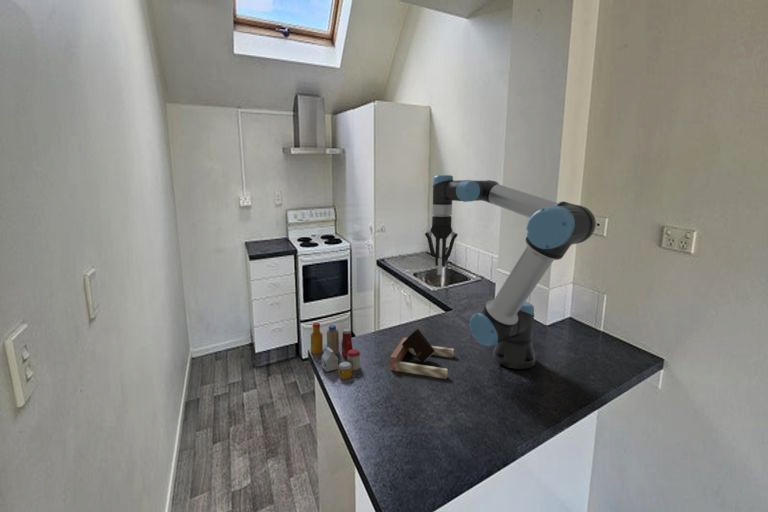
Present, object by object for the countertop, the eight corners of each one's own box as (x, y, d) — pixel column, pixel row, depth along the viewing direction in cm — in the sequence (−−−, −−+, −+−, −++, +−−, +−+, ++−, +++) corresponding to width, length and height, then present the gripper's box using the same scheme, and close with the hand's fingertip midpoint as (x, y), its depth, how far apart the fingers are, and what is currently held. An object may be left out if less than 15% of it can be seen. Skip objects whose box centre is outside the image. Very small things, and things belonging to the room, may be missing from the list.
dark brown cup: (438, 347, 133) (418, 327, 136) (420, 364, 132) (401, 343, 135) (436, 350, 144) (418, 331, 147) (420, 366, 143) (402, 347, 146)
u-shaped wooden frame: (453, 355, 143) (454, 343, 142) (446, 378, 126) (447, 365, 125) (403, 348, 149) (403, 337, 148) (390, 369, 132) (390, 356, 131)
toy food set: (308, 352, 147) (307, 323, 144) (338, 345, 153) (337, 317, 151) (336, 382, 124) (335, 349, 122) (369, 372, 131) (369, 340, 128)
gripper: (459, 215, 147) (457, 273, 152) (427, 214, 151) (426, 270, 156) (457, 216, 140) (455, 277, 145) (423, 215, 144) (422, 274, 149)
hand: (440, 273), depth 150 cm, fingers closed
